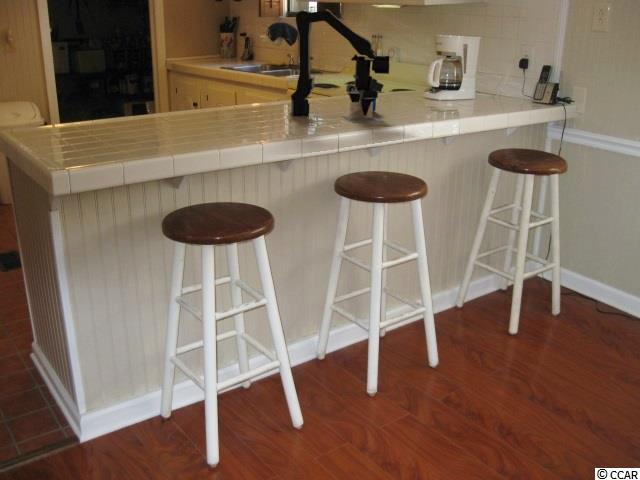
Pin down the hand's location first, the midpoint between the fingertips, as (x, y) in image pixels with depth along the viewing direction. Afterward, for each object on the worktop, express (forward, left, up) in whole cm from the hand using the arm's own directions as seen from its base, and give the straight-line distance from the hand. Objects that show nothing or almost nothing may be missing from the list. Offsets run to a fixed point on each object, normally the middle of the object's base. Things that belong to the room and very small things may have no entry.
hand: (360, 113), depth 251 cm
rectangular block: (0, 0, -2) cm, 2 cm away
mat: (0, -3, -2) cm, 4 cm away
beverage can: (+9, +14, -2) cm, 17 cm away
